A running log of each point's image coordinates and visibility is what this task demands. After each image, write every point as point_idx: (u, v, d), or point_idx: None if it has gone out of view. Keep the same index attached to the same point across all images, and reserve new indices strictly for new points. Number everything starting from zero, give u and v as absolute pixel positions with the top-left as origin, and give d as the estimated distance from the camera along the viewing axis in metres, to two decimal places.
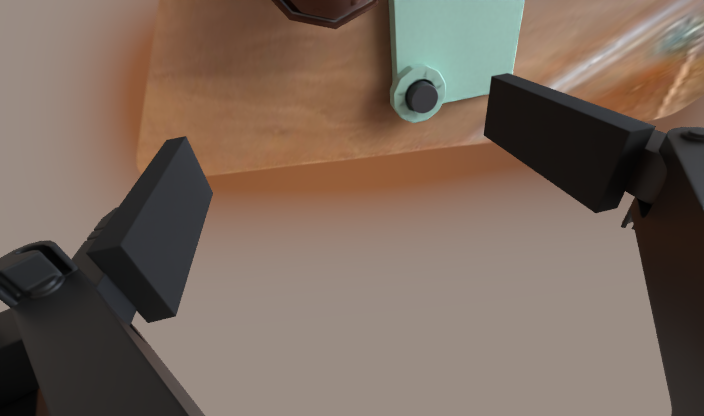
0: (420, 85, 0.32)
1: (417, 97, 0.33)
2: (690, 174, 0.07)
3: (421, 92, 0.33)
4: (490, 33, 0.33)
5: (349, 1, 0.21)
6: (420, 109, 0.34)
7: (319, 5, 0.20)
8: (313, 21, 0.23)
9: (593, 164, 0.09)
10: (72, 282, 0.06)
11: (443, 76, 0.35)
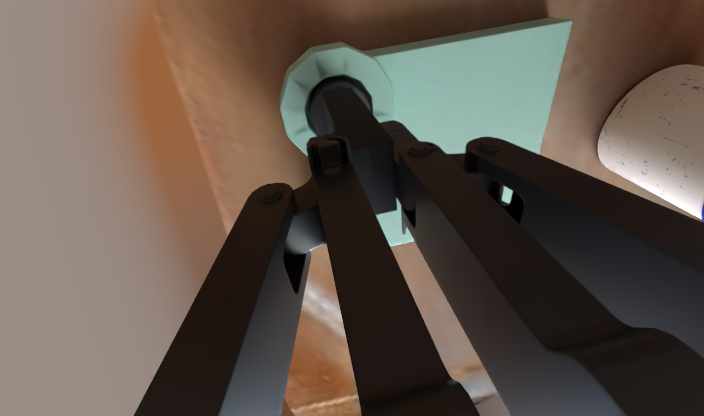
0: None
1: None
2: (429, 189, 0.07)
3: None
4: None
5: None
6: (320, 109, 0.15)
7: None
8: None
9: None
10: (347, 172, 0.09)
11: None
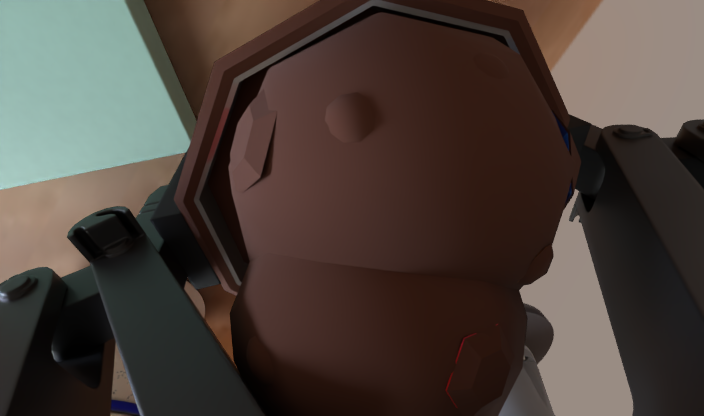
0: None
1: None
2: (625, 170, 0.07)
3: None
4: None
5: (376, 116, 0.05)
6: None
7: (503, 94, 0.05)
8: (451, 4, 0.06)
9: None
10: (140, 246, 0.07)
11: None
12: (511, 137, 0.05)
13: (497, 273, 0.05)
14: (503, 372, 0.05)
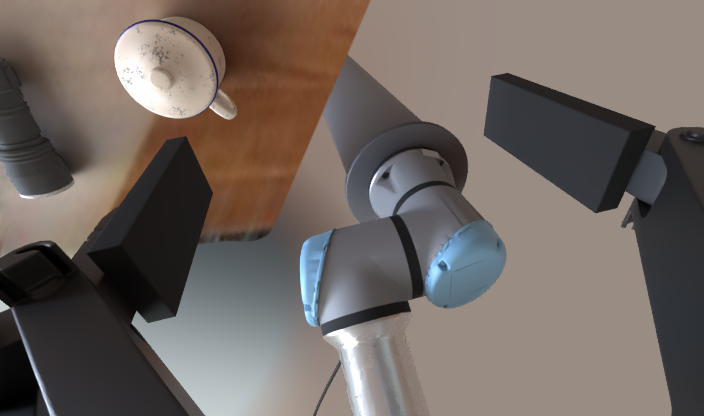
0: None
1: None
2: (690, 174, 0.07)
3: None
4: None
5: None
6: None
7: None
8: None
9: (593, 164, 0.09)
10: (72, 282, 0.06)
11: None
12: None
13: None
14: None
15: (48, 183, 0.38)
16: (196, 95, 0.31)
